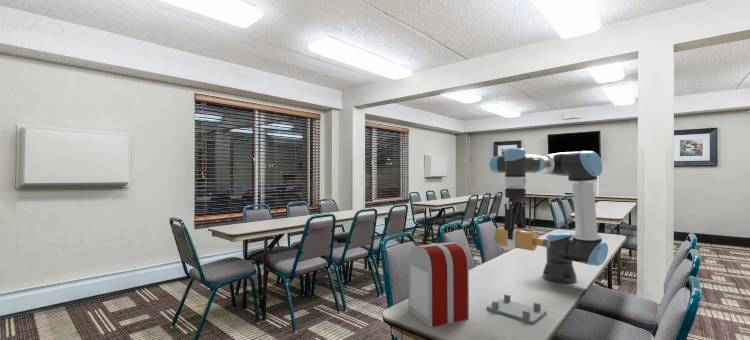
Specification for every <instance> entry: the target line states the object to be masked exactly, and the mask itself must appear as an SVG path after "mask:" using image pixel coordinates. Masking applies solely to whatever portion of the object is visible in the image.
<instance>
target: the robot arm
mask: <svg viewBox="0 0 750 340" xmlns="http://www.w3.org/2000/svg"><path fill="white" fill-rule="evenodd" d="M602 162H603V161H602V159H601V157H600V155H599V154H598V153H597V152H595V151H592V150H580V151H565V152H561V151H560V152H556V153H547V154H541V155H540V154H537V153H535V154H529V153H528V154H527V153H526V150H525V148H518V147H517V148H507V149H506V150H505V151H504V155H497V156H496V155H495V156H492V157H491V158H490V160H489V170H490V171H492V172H493V173H496V174H497V173H498V174H500V173H501V174H502V173H503V174H504V187H505V188H504V197H505V198H506V199H507V198H508V203H504V225H503V226H504V227H503V228H504V229H505V230H507V246H506V247H507V248H510V249H516V248H515V231H514V230H521V231H524V229H527V221H526V218H527V217H526V202H525V201H523V200H522V199H526V197H527V195H526V194H527V193H526V192H527V191H526V182H527V179H526V177H527V175H526V173H527V174H528V173H531V174H536V173H540V174H543V175H548V174H549V175H552V176H553V175H554V176H564V177H568V178H567V179H568V182H570V183H571V184H572V196H573V209H574V221H575V233H573V234H572V233H570V232H554V233H549V234H546V235H547V236H546V239H549V240H550V246H549V248H547V247H545V248H546V263H545V266H544V269H543V271H542V277H543V278H544V279H545V280H548V281H551V282H556V283H563V284H567V283H568V284H571V283H572V284H573V283H575V282H577V281H578V280H577V279H578V278H577V274H576V271H575V268H574V265H573V262H575V263H580V264H584V265H588V266H595V267H599V266H602V265H603V264H604V263H605V261H606V260H607V257H608V254H609V253H608V252H609V246H608V243H607V242H605V241H603V239H602V235H600V234H599V233H598V227H597V226H598V225H597V213H596V212H597V209H596V197H595V183H596V181H597V180H598V177H599V176H601V174H602V172H603V171H602V170H603V163H602ZM515 225H516V226H515Z"/></svg>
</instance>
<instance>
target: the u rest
mask: <svg viewBox="0 0 750 340" xmlns="http://www.w3.org/2000/svg"><path fill="white" fill-rule="evenodd" d="M541 308H542V307H541V302H538V301H537V302H536V301H534V302H533V306H530V305H527V304H524V303H520V302H516V301H512V300H511V294H507V293H505V294H504V295H503V298H500V299H498V300H493V301H491V303H490V304H489V305H488V306H486V310H487V311H491V312H494V313H497V314H500V315H504V316H506V317H509V318H513V319H516V320H519V321H523V322H524V323H529V324H532V325H534V324H535V323H537V322H538V321H539V320H540V319H542V318H543V317H544V316H545V315H546V314H547V312H548V311H547V310H544V309H541Z"/></svg>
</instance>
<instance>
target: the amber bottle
mask: <svg viewBox="0 0 750 340" xmlns="http://www.w3.org/2000/svg"><path fill="white" fill-rule="evenodd" d="M514 231H515V248H514V249H518V250H519V249H520V250H527V251H532V252H534V251H536V249H537V247H538V246H539V247H544V248H546V247H547V248H549V246H550V240H549V239H547V238H545V239H544V238H538V234H537V233H536V231H535V232H534V231H528V230H523V231H521V230H516V229H514ZM494 243H495V245H497V246H501V247H507V230H505V229H504V227H497V228H496V230H495V232H494ZM547 248H546V249H547Z"/></svg>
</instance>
